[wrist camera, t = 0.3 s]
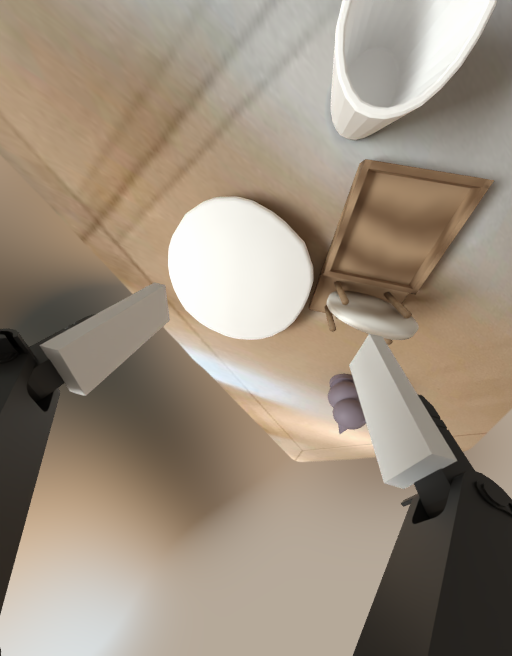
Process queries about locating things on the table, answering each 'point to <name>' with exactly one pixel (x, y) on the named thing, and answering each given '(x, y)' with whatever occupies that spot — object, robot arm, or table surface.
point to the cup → (398, 57)
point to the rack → (391, 244)
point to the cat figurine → (345, 403)
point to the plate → (239, 268)
